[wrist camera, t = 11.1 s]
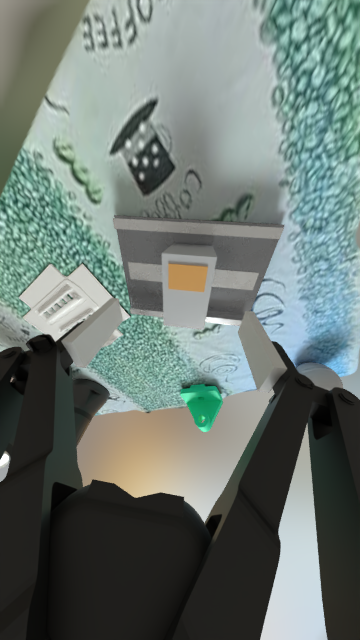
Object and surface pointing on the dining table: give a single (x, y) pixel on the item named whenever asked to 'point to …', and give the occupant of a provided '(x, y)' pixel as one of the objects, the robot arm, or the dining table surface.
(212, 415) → the camera mount
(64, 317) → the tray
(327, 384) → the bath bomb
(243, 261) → the rail
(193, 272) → the module
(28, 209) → the dining table surface
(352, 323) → the dining table surface
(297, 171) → the dining table surface
